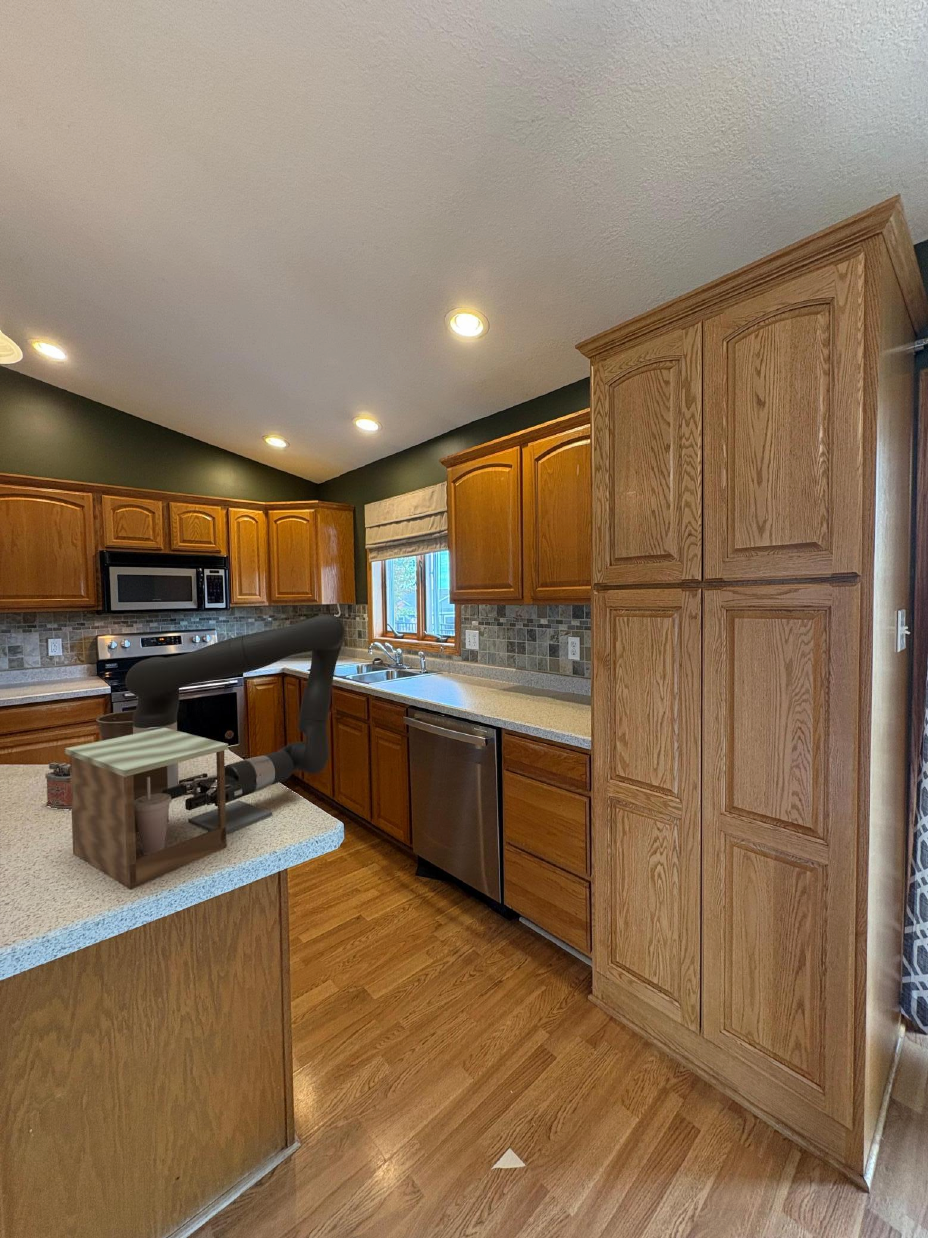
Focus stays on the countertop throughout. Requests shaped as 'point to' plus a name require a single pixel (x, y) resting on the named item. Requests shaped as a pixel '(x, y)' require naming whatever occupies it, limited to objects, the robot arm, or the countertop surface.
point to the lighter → (59, 786)
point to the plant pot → (116, 724)
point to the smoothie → (152, 820)
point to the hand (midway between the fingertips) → (174, 800)
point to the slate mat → (231, 817)
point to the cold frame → (110, 788)
